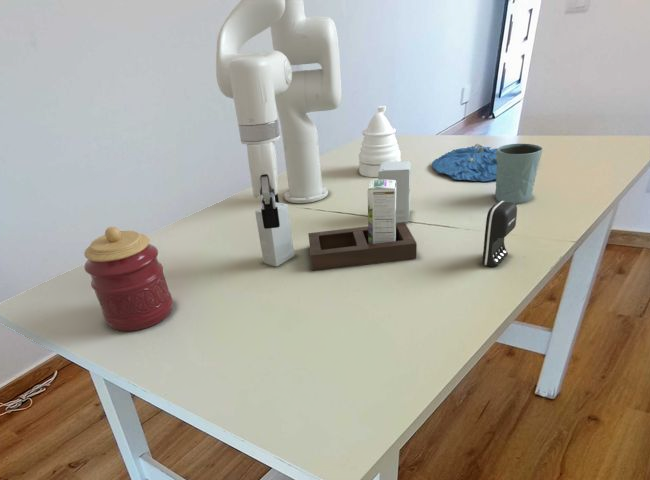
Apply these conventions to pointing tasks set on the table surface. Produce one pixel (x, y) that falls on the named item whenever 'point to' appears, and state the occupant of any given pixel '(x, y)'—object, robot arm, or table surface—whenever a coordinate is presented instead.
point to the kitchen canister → (128, 280)
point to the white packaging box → (398, 185)
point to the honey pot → (378, 145)
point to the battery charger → (498, 232)
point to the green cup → (516, 172)
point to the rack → (358, 248)
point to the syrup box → (381, 211)
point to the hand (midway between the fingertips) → (272, 219)
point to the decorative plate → (469, 163)
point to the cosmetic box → (276, 238)
